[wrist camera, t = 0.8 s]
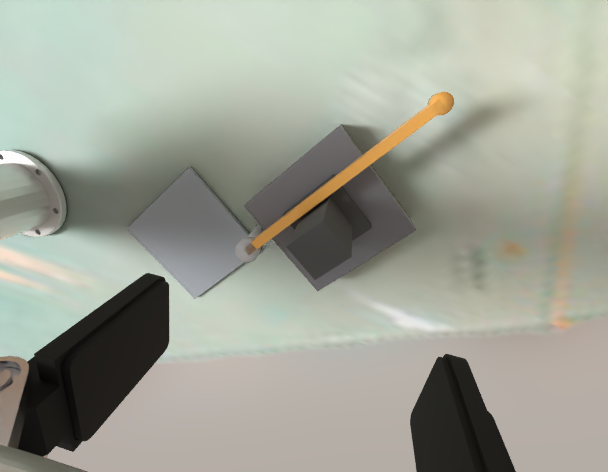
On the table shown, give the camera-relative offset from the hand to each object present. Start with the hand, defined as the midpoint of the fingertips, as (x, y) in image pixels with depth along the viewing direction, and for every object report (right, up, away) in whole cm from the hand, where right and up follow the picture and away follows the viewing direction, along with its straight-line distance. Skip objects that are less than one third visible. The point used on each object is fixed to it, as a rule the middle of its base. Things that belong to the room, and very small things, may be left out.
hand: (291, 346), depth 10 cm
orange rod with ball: (+3, +9, +21) cm, 23 cm away
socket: (+3, +7, +29) cm, 29 cm away
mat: (-15, +4, +33) cm, 36 cm away
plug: (+3, +7, +27) cm, 28 cm away
